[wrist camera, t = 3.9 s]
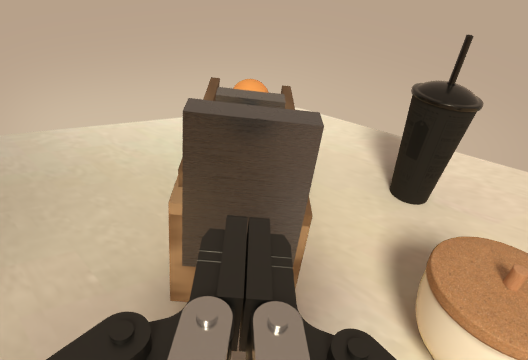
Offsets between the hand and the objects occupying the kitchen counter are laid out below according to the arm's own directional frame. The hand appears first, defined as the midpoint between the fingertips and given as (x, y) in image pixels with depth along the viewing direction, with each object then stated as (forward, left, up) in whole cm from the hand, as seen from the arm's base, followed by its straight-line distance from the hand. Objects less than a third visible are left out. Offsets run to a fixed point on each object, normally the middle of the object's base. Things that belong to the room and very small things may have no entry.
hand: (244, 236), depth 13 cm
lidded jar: (+19, +8, -17) cm, 27 cm away
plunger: (0, +14, -7) cm, 16 cm away
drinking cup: (+22, +31, -17) cm, 42 cm away
